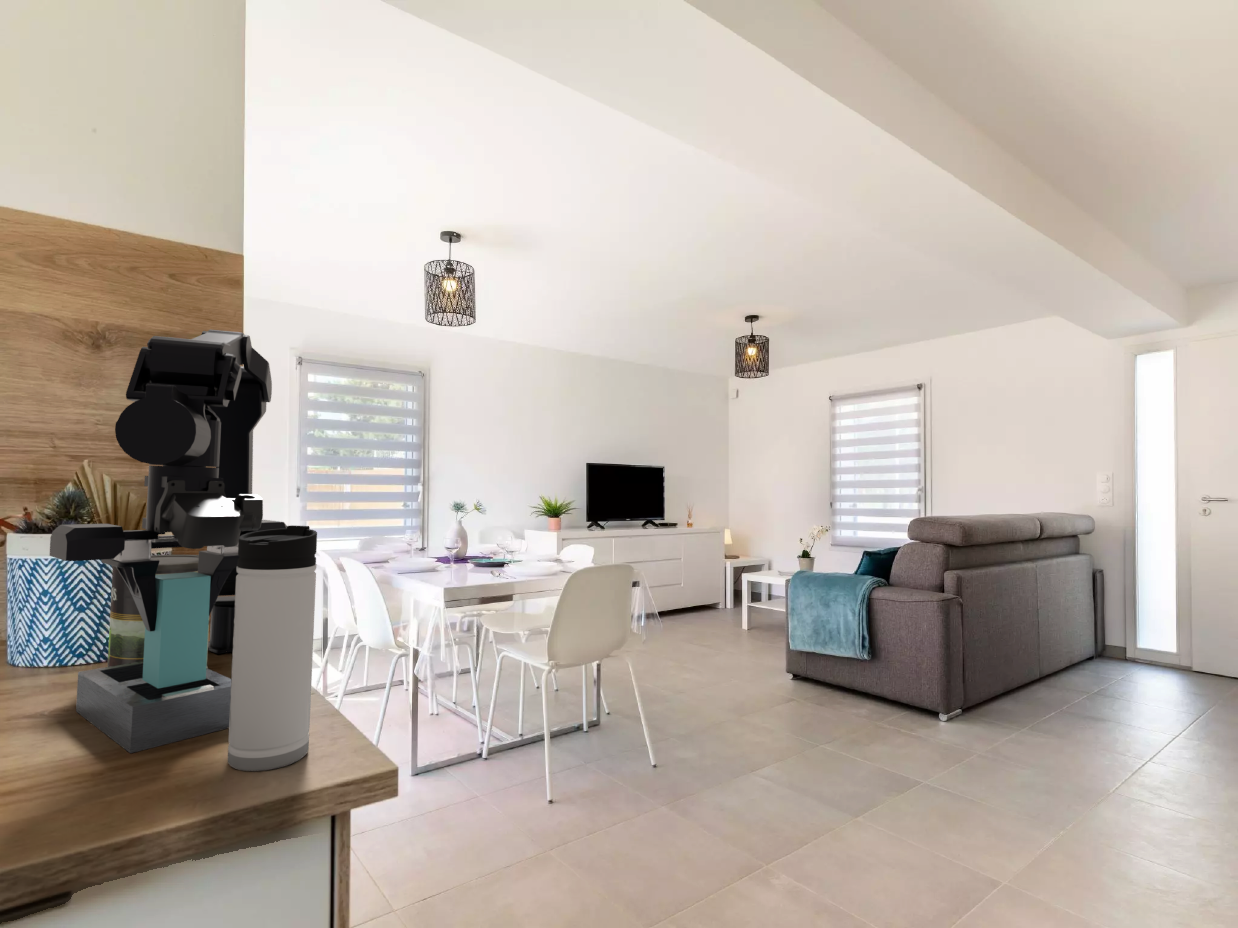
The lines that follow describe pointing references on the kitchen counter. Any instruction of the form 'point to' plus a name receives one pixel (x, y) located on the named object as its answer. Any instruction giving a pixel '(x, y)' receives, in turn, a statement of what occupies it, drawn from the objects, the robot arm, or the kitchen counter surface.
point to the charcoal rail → (151, 706)
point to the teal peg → (178, 630)
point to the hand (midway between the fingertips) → (176, 627)
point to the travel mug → (272, 648)
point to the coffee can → (125, 614)
